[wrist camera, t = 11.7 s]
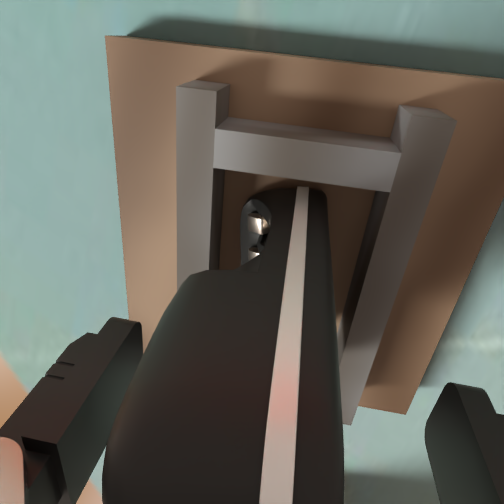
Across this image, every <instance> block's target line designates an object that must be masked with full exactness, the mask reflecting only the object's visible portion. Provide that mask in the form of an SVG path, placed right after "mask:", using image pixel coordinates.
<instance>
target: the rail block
mask: <svg viewBox="0 0 504 504" xmlns="http://www.w3.org/2000/svg"><path fill="white" fill-rule="evenodd" d="M105 41H106V53H107V65H108V77H109V89H110V100H111V112H112V124H113V136H114V148H115V159H116V171H117V183H118V195H119V206H120V218H121V230H122V242H123V254H124V265H125V277H126V289H127V301H128V312H129V320H132V321H137V322H140V323H141V325H142V338H143V354H144V352H145V350H146V348H147V345H148V343H149V341H150V339H151V337H152V335H153V333H154V331H155V329H156V327H157V325H158V323H159V321H160V319H161V317H162V315H163V313H164V311H165V310H166V308H167V307H168V305H169V303H170V302H171V300H172V299H173V297H174V296H175V294H176V293H177V291H178V289H179V288H180V286H181V284H182V283H183V282H184V281H185V280H186V279H187V278H188V277H189V276H190V275H191V274H195V273H198V272H201V271H205V270H234V269H236V268H238V267H240V266H241V247H240V218H241V212H242V208H243V206H244V204H245V203H246V201H247V200H248V199H249V198H250V197H251V196H253V195H254V194H257V193H259V192H262V191H265V190H272V189H277V188H291V189H297V186H302V187H309V189H315V190H321V191H323V192H324V193H325V194H326V196H327V205H328V222H329V237H330V248H331V260H332V272H333V285H334V298H335V312H336V326H337V341H338V357H339V372H340V388H341V404H342V422H343V424H346V425H351V424H352V421H353V418H354V415H355V413H356V410H357V407H358V406H362V407H367V408H372V409H378V410H383V411H388V412H394V413H399V414H405V415H406V413H407V411H408V409H409V406H410V404H411V402H412V400H413V397H414V395H415V393H416V391H417V389H418V386H419V384H420V382H421V380H422V377H423V375H424V373H425V371H426V369H427V366H428V364H429V362H430V360H431V358H432V355H433V353H434V351H435V349H436V346H437V344H438V342H439V340H440V338H441V335H442V333H443V331H444V329H445V327H446V324H447V322H448V320H449V318H450V315H451V313H452V311H453V309H454V307H455V304H456V302H457V300H458V298H459V296H460V293H461V291H462V289H463V287H464V284H465V282H466V280H467V278H468V276H469V273H470V271H471V269H472V267H473V264H474V262H475V260H476V258H477V256H478V253H479V251H480V249H481V247H482V245H483V242H484V240H485V238H486V236H487V233H488V231H489V229H490V227H491V225H492V222H493V220H494V218H495V216H496V214H497V211H498V209H499V207H500V205H501V202H502V200H503V198H504V79H502V78H493V77H484V76H476V75H467V74H458V73H449V72H440V71H431V70H423V69H414V68H405V67H396V66H387V65H378V64H370V63H361V62H352V61H343V60H334V59H325V58H317V57H308V56H299V55H290V54H281V53H272V52H264V51H255V50H246V49H237V48H228V47H219V46H211V45H202V44H193V43H184V42H175V41H166V40H158V39H149V38H140V37H131V36H105Z"/></svg>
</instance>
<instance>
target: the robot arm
mask: <svg viewBox="0 0 504 504" xmlns="http://www.w3.org/2000/svg"><path fill="white" fill-rule="evenodd" d="M142 356H143V338H142V325H141V323H140V322H137V321H132V320H127V319H121V318H116V317H112V318H110V319H109V320H108V321H107V322H106V324H105V325H104V326H103V328H102V329H101V330H100V332H99V333H98V334H93V333H86V334H85V335H83V336H82V337H80V338H79V339H77V340H76V341H74V342H73V343H71V344H69V346H68V347H67V348H66V349H65V351H64V352H63V353H62V354H61V355H60V357H59V358H58V359H57V360H56V363H55V364H53V365H52V366H51V368H50V369H49V370H48V371H47V372H46V374H45V377H42V379H41V380H40V381H39V382H38V383H37V385H36V386H35V387H34V388H33V390H32V391H31V392H30V393H29V394H28V396H27V397H26V398H25V399H24V400H23V402H22V403H21V404H20V405H19V407H18V408H17V409H16V410H15V412H14V413H13V414H12V415H11V416H10V418H9V419H8V420H7V421H6V422H5V424H4V425H3V426H2V427H1V429H0V504H76V502H77V500H78V498H79V496H80V495H81V492H82V490H83V489H84V487H85V485H86V483H87V481H88V479H89V477H90V476H91V474H92V472H93V470H94V468H95V466H96V464H97V462H98V460H99V458H100V457H101V455H102V453H103V451H104V449H105V447H106V445H107V442H108V439H109V436H110V432H111V429H112V426H113V423H114V420H115V418H116V415H117V413H118V410H119V408H120V405H121V403H122V400H123V398H124V395H125V393H126V391H127V389H128V386H129V384H130V382H131V380H132V378H133V375H134V373H135V371H136V369H137V367H138V364H139V362H140V360H141V358H142ZM425 444H426V449H427V453H428V457H429V461H430V465H431V469H432V472H433V476H434V480H435V484H436V488H437V492H438V496H439V500H440V504H504V415H501V414H496V412H495V409H494V407H493V405H492V403H491V401H490V399H489V397H488V395H487V393H486V392H485V390H483V389H482V388H477V387H472V386H467V385H462V384H456V383H451V382H450V383H447V384H446V385H445V387H444V389H443V391H442V393H441V394H440V396H439V398H438V400H437V402H436V404H435V406H434V408H433V410H432V412H431V414H430V416H429V418H428V420H427V422H426V427H425Z"/></svg>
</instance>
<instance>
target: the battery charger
mask: <svg viewBox="0 0 504 504" xmlns="http://www.w3.org/2000/svg"><path fill="white" fill-rule="evenodd" d="M240 247H241V266H240V267H238V268H236V269H234V270H205V271H201V272H198V273H195V274H191V275H190V276H189V277H188V278H187V279H186V280H185V281H184V282H183V283H182V284H181V286H180V288H179V289H178V291H177V293H176V294H175V296H174V297H173V299H172V300H171V302H170V303H169V305H168V307H167V308H166V310H165V311H164V313H163V315H162V317H161V319H160V321H159V323H158V325H157V327H156V329H155V331H154V333H153V335H152V337H151V339H150V341H149V343H148V345H147V348H146V350H145V352H144V354H143V356H142V358H141V360H140V362H139V364H138V367H137V369H136V371H135V373H134V375H133V378H132V380H131V382H130V384H129V386H128V389H127V391H126V393H125V395H124V398H123V400H122V403H121V405H120V408H119V410H118V413H117V415H116V418H115V420H114V423H113V426H112V429H111V432H110V436H109V439H108V442H107V446H106V452H105V458H104V465H103V473H102V502H103V504H344V443H343V422H342V404H341V388H340V372H339V357H338V341H337V326H336V312H335V298H334V285H333V272H332V260H331V248H330V237H329V222H328V205H327V196H326V194H325V193H324V192H323V191H321V190H315V189H309V187H302V186H297V189H291V188H277V189H272V190H265V191H262V192H259V193H257V194H254V195H253V196H251V197H250V198H249V199H248V200H247V201H246V203H245V204H244V206H243V208H242V212H241V218H240Z"/></svg>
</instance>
